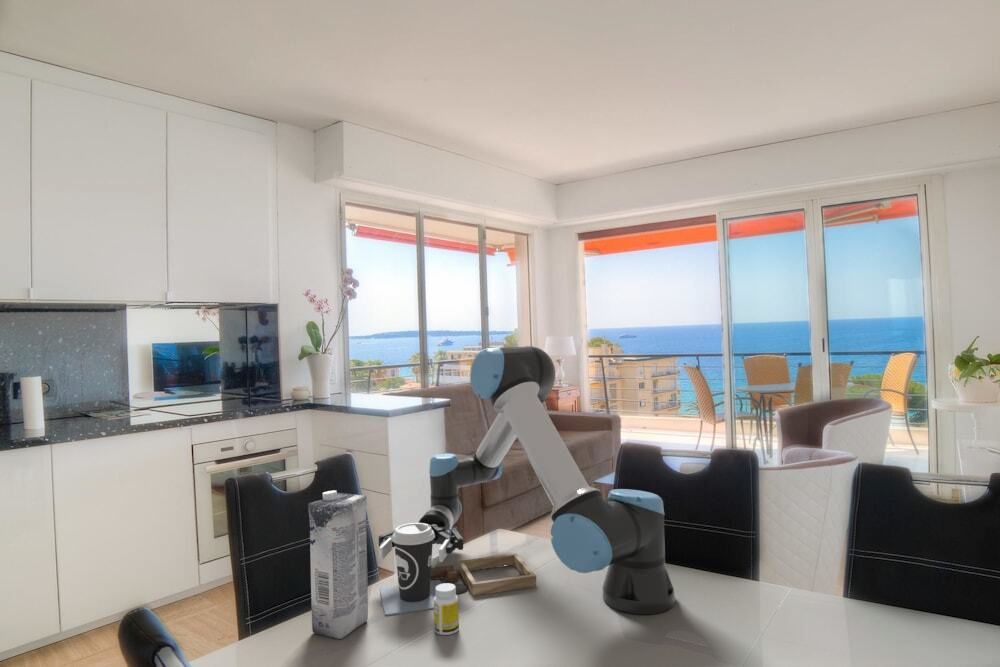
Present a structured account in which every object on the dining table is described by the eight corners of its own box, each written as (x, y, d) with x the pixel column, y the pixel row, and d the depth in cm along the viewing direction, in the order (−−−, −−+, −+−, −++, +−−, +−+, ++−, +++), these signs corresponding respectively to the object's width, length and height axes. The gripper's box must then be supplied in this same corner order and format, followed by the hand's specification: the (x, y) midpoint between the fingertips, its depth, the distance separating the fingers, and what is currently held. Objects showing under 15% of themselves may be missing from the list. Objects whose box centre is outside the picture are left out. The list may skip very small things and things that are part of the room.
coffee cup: (433, 605, 128) (431, 534, 128) (389, 605, 128) (387, 535, 128) (438, 586, 138) (437, 521, 138) (397, 587, 138) (395, 522, 138)
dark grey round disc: (469, 592, 135) (469, 591, 135) (448, 595, 134) (448, 594, 134) (465, 583, 140) (464, 582, 140) (443, 586, 138) (443, 585, 138)
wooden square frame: (536, 586, 137) (536, 575, 137) (472, 595, 133) (472, 584, 133) (516, 563, 152) (516, 553, 152) (458, 571, 147) (458, 560, 148)
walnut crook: (456, 581, 141) (456, 572, 141) (423, 585, 139) (422, 576, 139) (453, 573, 146) (453, 565, 146) (420, 577, 144) (420, 569, 144)
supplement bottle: (463, 626, 119) (462, 584, 119) (451, 637, 115) (450, 593, 115) (442, 622, 121) (441, 580, 121) (429, 633, 117) (428, 589, 117)
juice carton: (374, 619, 123) (371, 487, 123) (341, 643, 113) (338, 500, 114) (340, 612, 127) (337, 484, 127) (304, 635, 117) (301, 496, 117)
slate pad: (451, 606, 128) (451, 604, 128) (385, 615, 124) (385, 614, 124) (439, 581, 142) (439, 579, 142) (379, 589, 138) (379, 587, 138)
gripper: (484, 540, 150) (466, 573, 129) (388, 538, 154) (356, 569, 133) (483, 510, 150) (465, 539, 129) (388, 508, 154) (355, 536, 133)
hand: (410, 554), depth 131 cm, fingers open, 13 cm apart
